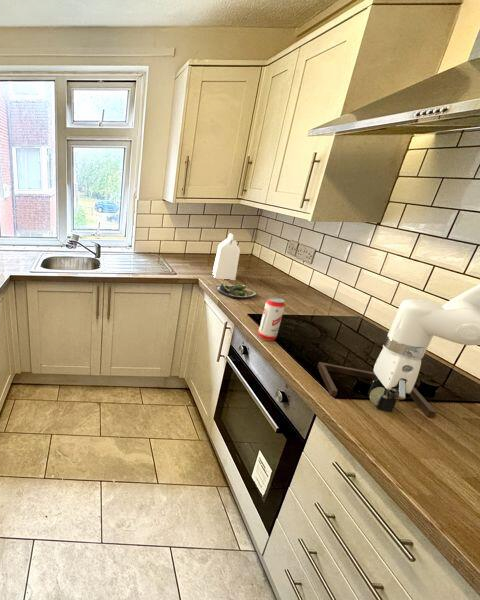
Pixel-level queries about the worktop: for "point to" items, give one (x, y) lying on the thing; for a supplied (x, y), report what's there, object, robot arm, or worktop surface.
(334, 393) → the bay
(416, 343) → the robot arm
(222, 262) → the milk
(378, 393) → the pale green round lump
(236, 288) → the salad plate
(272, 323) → the beer can
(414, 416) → the worktop surface
